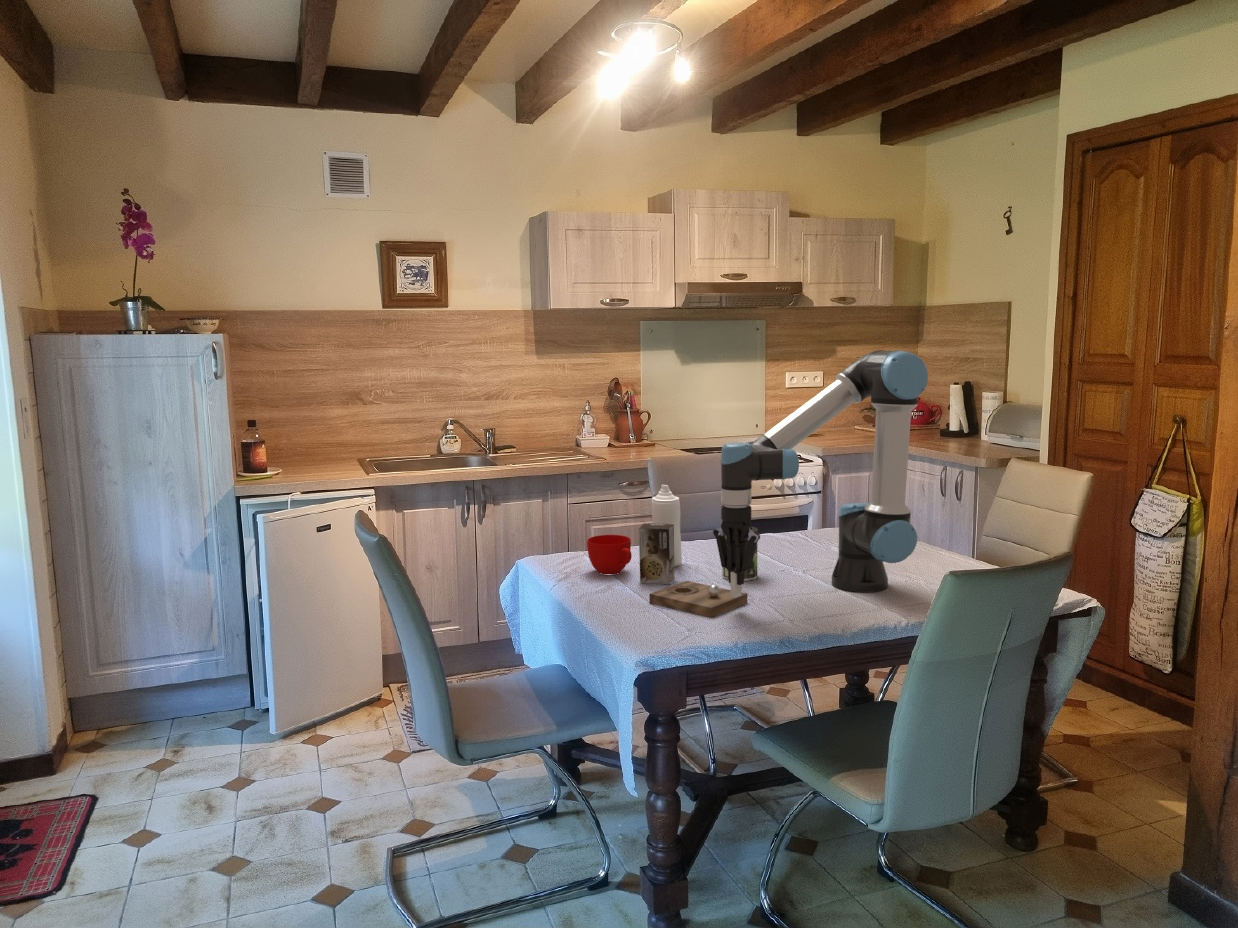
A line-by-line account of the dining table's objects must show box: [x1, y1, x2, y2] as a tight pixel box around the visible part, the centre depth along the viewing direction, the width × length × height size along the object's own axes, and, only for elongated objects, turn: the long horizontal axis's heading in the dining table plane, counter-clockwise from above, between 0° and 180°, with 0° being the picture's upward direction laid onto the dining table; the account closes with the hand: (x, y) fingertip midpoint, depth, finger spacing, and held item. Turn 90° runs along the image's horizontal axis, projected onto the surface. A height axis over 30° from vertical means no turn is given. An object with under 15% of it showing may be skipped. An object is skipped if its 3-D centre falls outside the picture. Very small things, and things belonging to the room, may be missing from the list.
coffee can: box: [721, 526, 759, 582], centre depth 270 cm, size 10×10×14 cm
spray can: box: [650, 484, 683, 567], centre depth 284 cm, size 12×11×25 cm
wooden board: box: [649, 580, 748, 618], centre depth 246 cm, size 20×16×2 cm
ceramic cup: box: [586, 534, 633, 575], centre depth 276 cm, size 13×17×10 cm
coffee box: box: [638, 522, 676, 585], centre depth 267 cm, size 9×6×16 cm
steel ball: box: [708, 584, 721, 597], centre depth 243 cm, size 3×3×3 cm
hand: (736, 596), depth 238 cm, fingers closed
